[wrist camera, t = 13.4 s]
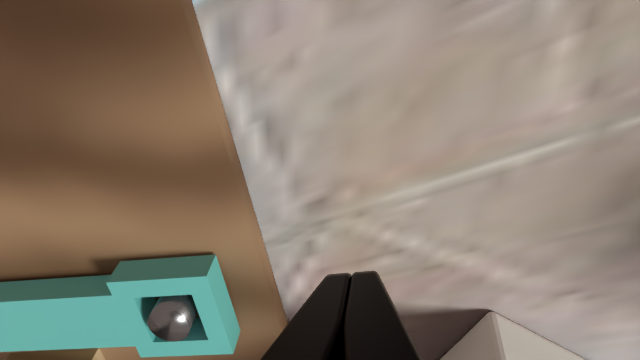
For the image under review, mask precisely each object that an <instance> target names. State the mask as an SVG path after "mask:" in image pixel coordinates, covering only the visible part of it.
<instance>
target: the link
mask: <svg viewBox="0 0 640 360" xmlns="http://www.w3.org/2000/svg"><path fill="white" fill-rule="evenodd" d="M175 295H192V297H193V300H194V302H195V305H196V308H197V310H198V313H199V316H200V318H195V319H194V322H193V324H192V327H191V329H190V331H189V334H188V336H187V337H186V338H185V339H183V340H181V341H176V342H172V341H166V340H163V339H160V338H159V337H157V336H155V335H154V334H153V333H152V332H151V331H150V329H149V327H148V324H147V320H148V317H149V315H150V313H151V311H152V310H153V308H154V306H155V304H156V299H155V297H158V296H175ZM240 331H241V330H240V327H239V324H238V321H237V318H236V315H235V312H234V309H233V306H232V302H231V299H230V296H229V293H228V290H227V287H226V284H225V281H224V278H223V275H222V272H221V269H220V266H219V263H218V260H217V256H216V255H202V256H188V257H174V258H160V259H146V260H132V261H120V262H119V264H118V265H117V267H116V268H115V270H114V271H113V273H112V275H100V276H85V277H70V278H55V279H40V280H25V281H10V282H0V352H12V351H36V350H60V349H84V348H109V347H133V346H136V349H137V351H138V353H139V355H140V357H166V356H192V355H219V354H233V353H234V350H235V347H236V344H237V340H238V337H239V334H240Z"/></svg>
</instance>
